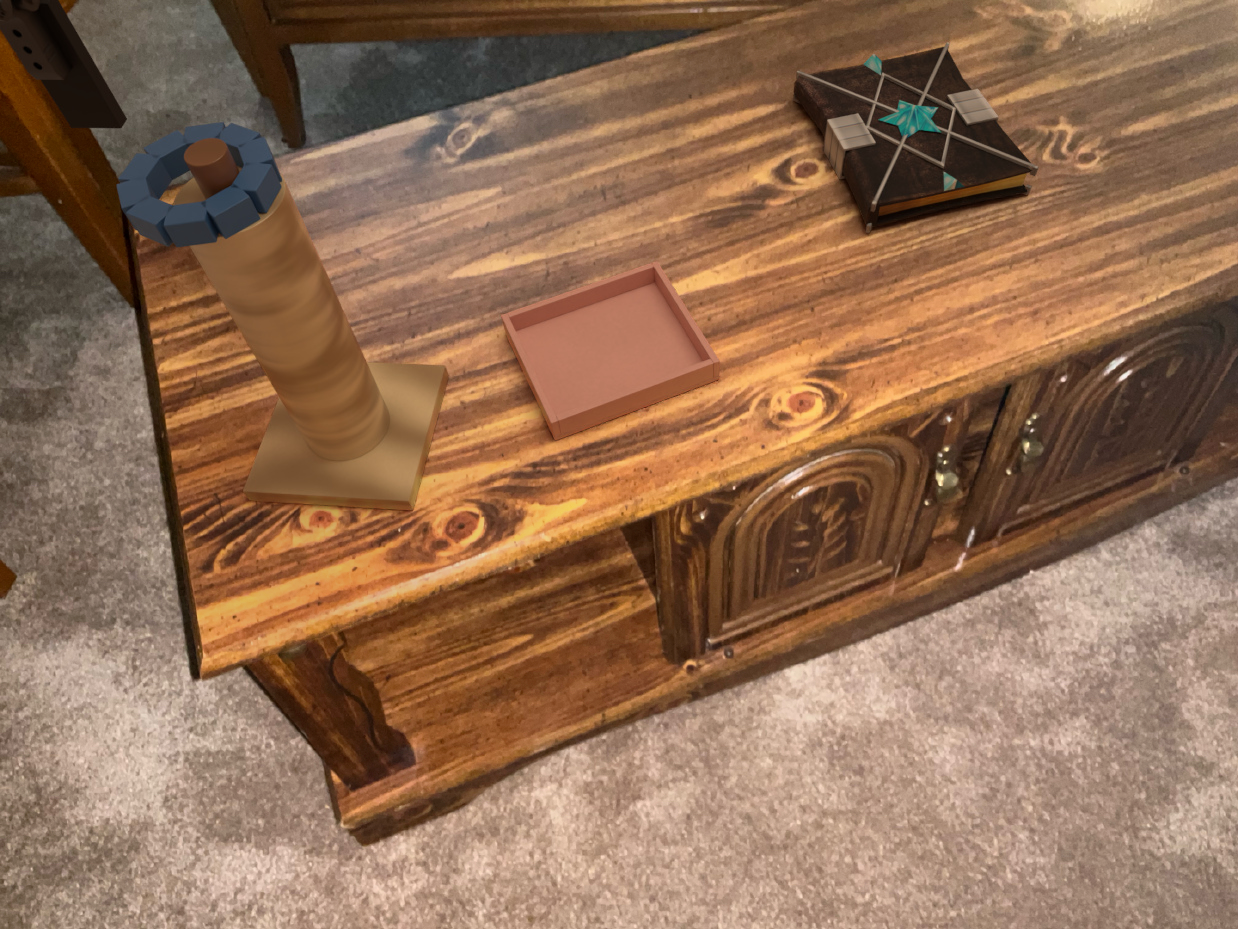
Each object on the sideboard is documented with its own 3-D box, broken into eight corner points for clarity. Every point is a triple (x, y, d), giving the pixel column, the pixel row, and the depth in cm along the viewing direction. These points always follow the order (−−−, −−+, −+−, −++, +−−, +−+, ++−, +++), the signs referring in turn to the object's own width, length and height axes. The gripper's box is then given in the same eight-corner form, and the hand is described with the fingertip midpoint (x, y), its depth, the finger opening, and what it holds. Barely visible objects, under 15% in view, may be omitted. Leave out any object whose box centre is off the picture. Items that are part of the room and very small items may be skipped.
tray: (555, 440, 80) (551, 423, 78) (505, 333, 87) (500, 314, 85) (719, 379, 83) (720, 360, 81) (658, 279, 90) (657, 260, 88)
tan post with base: (413, 510, 77) (280, 235, 53) (249, 501, 79) (47, 229, 55) (449, 375, 85) (347, 80, 61) (299, 369, 87) (141, 79, 62)
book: (791, 100, 103) (795, 58, 99) (940, 70, 104) (950, 27, 100) (865, 235, 91) (872, 194, 87) (1032, 199, 92) (1048, 156, 88)
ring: (211, 265, 57) (198, 243, 56) (99, 218, 60) (84, 195, 59) (312, 170, 61) (302, 147, 60) (202, 130, 65) (191, 107, 63)
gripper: (-253, -392, 27) (124, 201, 44) (107, -592, 41) (286, -78, 58) (-481, -378, 28) (-24, 198, 45) (-54, -578, 41) (171, -76, 59)
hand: (151, 44), depth 52 cm, fingers open, 13 cm apart
